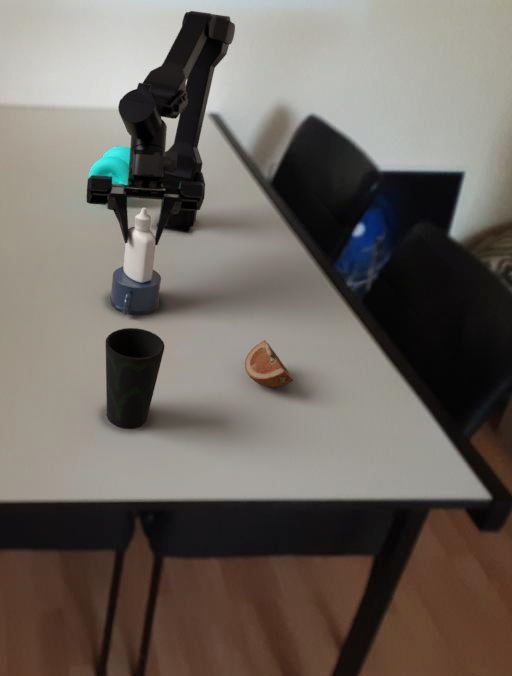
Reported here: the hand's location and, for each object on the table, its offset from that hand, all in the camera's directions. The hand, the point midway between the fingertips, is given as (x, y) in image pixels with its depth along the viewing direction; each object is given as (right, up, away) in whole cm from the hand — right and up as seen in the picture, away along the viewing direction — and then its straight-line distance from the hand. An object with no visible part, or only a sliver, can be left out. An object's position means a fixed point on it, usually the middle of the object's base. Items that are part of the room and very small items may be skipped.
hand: (141, 243), depth 136 cm
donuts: (-1, +17, +45) cm, 48 cm away
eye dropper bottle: (0, -5, +5) cm, 7 cm away
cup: (-4, -27, -19) cm, 33 cm away
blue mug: (0, -9, +8) cm, 12 cm away
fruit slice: (+17, -23, -10) cm, 30 cm away
